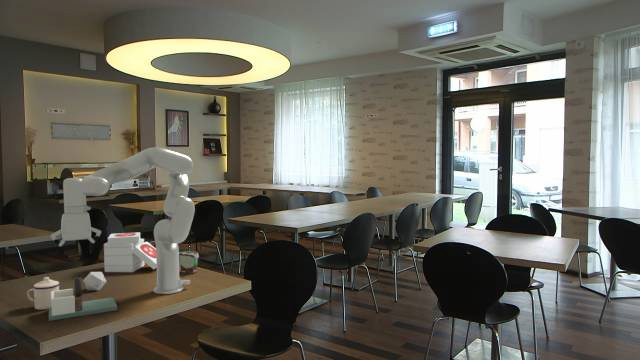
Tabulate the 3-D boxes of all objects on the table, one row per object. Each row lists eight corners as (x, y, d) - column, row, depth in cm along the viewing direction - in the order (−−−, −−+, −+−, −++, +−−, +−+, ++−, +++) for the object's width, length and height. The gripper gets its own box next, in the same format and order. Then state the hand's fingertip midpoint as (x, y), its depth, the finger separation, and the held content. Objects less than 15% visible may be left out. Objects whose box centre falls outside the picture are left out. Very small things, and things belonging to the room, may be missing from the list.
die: (91, 294, 204) (105, 275, 206) (76, 284, 205) (90, 265, 208) (99, 296, 211) (113, 277, 214) (84, 286, 213) (98, 268, 215)
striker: (81, 302, 185) (80, 275, 184) (82, 309, 176) (82, 280, 176) (74, 303, 184) (73, 275, 183) (75, 310, 175) (74, 281, 175)
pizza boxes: (156, 273, 239) (155, 238, 238) (98, 272, 240) (97, 238, 240) (169, 264, 258) (168, 232, 257) (116, 264, 259) (115, 232, 259)
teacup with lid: (64, 302, 191) (63, 274, 190) (53, 309, 182) (52, 280, 181) (34, 303, 190) (33, 275, 190) (21, 310, 181) (20, 281, 180)
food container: (204, 271, 241) (204, 252, 241) (195, 274, 236) (195, 254, 236) (187, 268, 248) (187, 250, 247) (178, 271, 243) (178, 252, 242)
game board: (113, 300, 192) (112, 283, 192) (117, 310, 181) (116, 291, 180) (48, 310, 181) (48, 291, 181) (48, 320, 169) (48, 300, 169)
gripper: (99, 207, 186) (101, 250, 187) (49, 210, 177) (51, 255, 178) (101, 209, 179) (103, 253, 180) (49, 212, 171) (51, 259, 172)
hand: (77, 254), depth 179 cm, fingers open, 9 cm apart
